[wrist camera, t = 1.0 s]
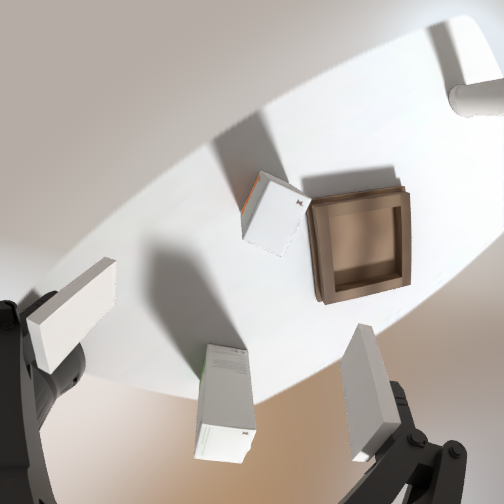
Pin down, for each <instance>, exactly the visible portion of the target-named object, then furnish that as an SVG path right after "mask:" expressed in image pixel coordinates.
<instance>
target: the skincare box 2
mask: <svg viewBox="0 0 504 504" xmlns="http://www.w3.org/2000/svg"><path fill="white" fill-rule="evenodd" d="M310 202H311V198H310V197H309V196H307V195H306V194H304V193H303V192H301V191H300V190H298V189H297V188H295V187H294V186H292V185H291V184H289V183H287V182H285V181H283V180H281V179H279V178H277V177H275V176H272V175H270V174H268V173H266V172H263V171H261V170H260V171H259V174H258V176H257V178H256V180H255V183H254V185H253V187H252V189H251V192H250V194H249V196H248V198H247V200H246V202H245V204H244V206H243V208H242V210H241V212H240V213H241V227H242V239H243V240H245V241H247V242H249V243H251V244H253V245H256V246H258V247H260V248H262V249H265V250H267V251H269V252H271V253H274V254H276V255H278V256H280V257H282V256H283V255H284V253H285V251H286V249H287V247H288V245H289V243H290V241H291V239H292V238H293V236H294V234H295V233H296V231H297V229H298V227H299V225H300V222H301V220H302V218H303V216H304V214H305V212H306V210H307V208H308V206H309V204H310Z"/></svg>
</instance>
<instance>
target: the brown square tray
mask: <svg viewBox="0 0 504 504" xmlns="http://www.w3.org/2000/svg"><path fill="white" fill-rule="evenodd" d="M306 211H307V219H308V227H309V235H310V243H311V252H312V261H313V270H314V280H315V290H316V299H317V301H318V302H321V301H323V302H324V304H325V305H327V304H332V303H337V302H341V301H346V300H350V299H354V298H359V297H363V296H367V295H371V294H376V293H380V292H384V291H388V290H392V289H396V288H400V287H404V286H407V285H411V208H410V193H408V192H405V187H404V186H396V187H389V188H381V189H374V190H367V191H360V192H353V193H346V194H339V195H333V196H326V197H320V198H314V199H311V202H310V204H309V206H308V208H307V210H306Z"/></svg>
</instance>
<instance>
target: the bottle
mask: <svg viewBox="0 0 504 504" xmlns="http://www.w3.org/2000/svg"><path fill="white" fill-rule="evenodd" d="M449 102H450V106H451V108H452V109H453V111H454V112H455V113H456V114H457V115H459V116H462V117H467V118H469V117H473V116H479V115H485V116H504V78H503V79H497V80H491V81H486V82H480V83H475V84H470V85H465V84H461V85H456V86H454V87H453V88H452V89H451V90H450V93H449Z"/></svg>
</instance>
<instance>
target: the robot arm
mask: <svg viewBox="0 0 504 504" xmlns="http://www.w3.org/2000/svg"><path fill="white" fill-rule="evenodd" d="M116 262H117V261H116V260H113V259H110V258H107V257H104V258H103V259H101V260H100V261H99V262H97V263H96V264H95V265H93V266H92V267H91V268H89V269H88V270H87V271H85V272H84V273H83V274H81V275H80V276H79V277H77V278H76V279H75V280H73V281H72V282H71V283H70V284H68V285H67V286H66V287H64V288H63V289H62V290H61V291H59V292H57V291H52V292H49V293H47V294H45V295H44V296H42V297H41V298H40V299H39V300H37V301H36V302H35V303H34V304H32V305H31V306H30V307H28V308H27V309H26V310H25V311H23V312H22V313H21V314H20V315H19V313H18V308H17V305H16V303H15V302H13V301H10V300H3V301H0V504H57V503H56V501H55V498H54V495H53V492H52V488H51V485H50V481H49V477H48V473H47V469H46V464H45V459H44V455H43V450H42V444H41V439H40V433H39V430H40V428H41V426H42V424H43V423H44V421H45V419H46V417H47V415H48V413H49V411H50V410H51V408H52V406H53V404H54V402H55V400H56V399H57V398H58V397H59V396H61V395H62V394H63V393H65V392H66V391H68V390H69V389H71V388H72V387H73V386H75V385H76V384H77V383H78V381H79V380H80V378H81V376H82V375H83V373H84V370H85V356H84V353H83V350H82V347H81V345H80V343H79V342H80V341H81V340H82V339H83V338H84V337H85V336H86V334H87V333H88V332H89V331H90V330H91V329H92V328H93V327H94V326H95V325H96V324H97V323H98V322H99V320H100V319H101V318H102V317H103V316H104V315H105V314H106V313H107V312H108V311H109V310H110V309H111V308H112V307H113V306H114V305H115V304H116ZM340 368H341V375H342V382H343V388H344V396H345V403H346V412H347V420H348V428H349V438H350V447H351V457H352V461H363V462H368V461H369V460H370V459H371V458H372V457H373V456H374V455H375V459H376V463H374V464H373V466H371V468H370V469H369V470H368V471H367V472H366V473H365V475H364V476H363V477H362V478H361V479H360V480H359V482H358V483H357V484H356V485H355V486H354V487H353V488H352V489H351V490H350V492H349V493H348V494H347V495H346V496H345V497H344V498H343V499H342V500H341V501H340V502H339V503H338V504H391V503H392V502H393V501H394V499H395V498H396V496H397V495H398V494H399V492H400V491H401V489H402V488H403V486H404V485H405V483H406V484H408V487H407V490H406V493H405V496H404V499H403V502H402V504H461V499H462V493H463V486H464V479H465V471H466V462H467V451H466V449H465V447H464V446H463V445H462V444H461V443H459V442H458V441H454V440H450V441H447V442H446V443H445V444H444V445H443V446H439V445H436V444H432V443H429V442H428V439H427V437H426V435H425V434H424V433H423V432H422V431H420V430H418V429H416V428H415V426H414V422H413V418H412V415H411V412H410V408H409V406H408V402H407V400H406V396H405V393H404V390H403V388H402V387H401V386H400V385H399V383H398V382H395V381H389V379H388V376H387V373H386V369H385V366H384V363H383V359H382V357H381V353H380V350H379V347H378V344H377V341H376V338H375V335H374V332H373V329H372V326H368V325H363V324H359V323H358V326H357V328H356V330H355V332H354V334H353V336H352V339H351V341H350V343H349V345H348V347H347V349H346V351H345V353H344V355H343V357H342V359H341V361H340Z"/></svg>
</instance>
